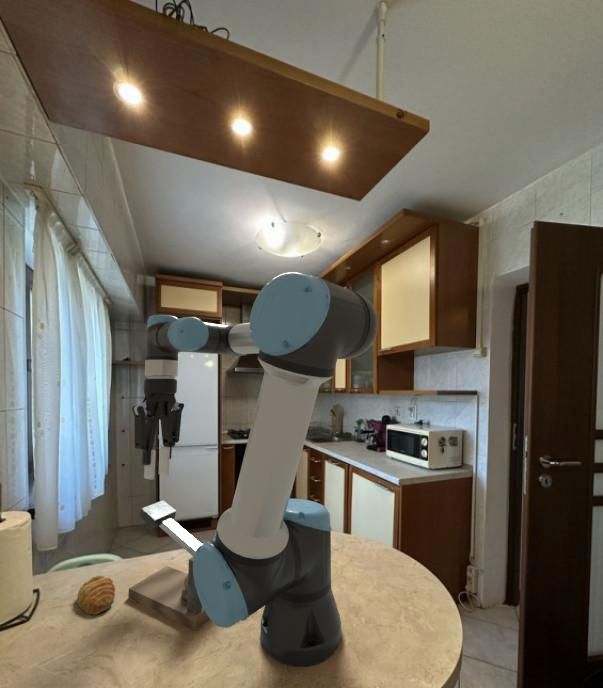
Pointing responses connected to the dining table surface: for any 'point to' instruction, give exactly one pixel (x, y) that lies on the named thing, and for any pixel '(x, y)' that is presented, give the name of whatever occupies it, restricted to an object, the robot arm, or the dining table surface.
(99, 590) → the pastry
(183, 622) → the nutcracker base
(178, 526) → the lever
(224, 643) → the dining table surface
